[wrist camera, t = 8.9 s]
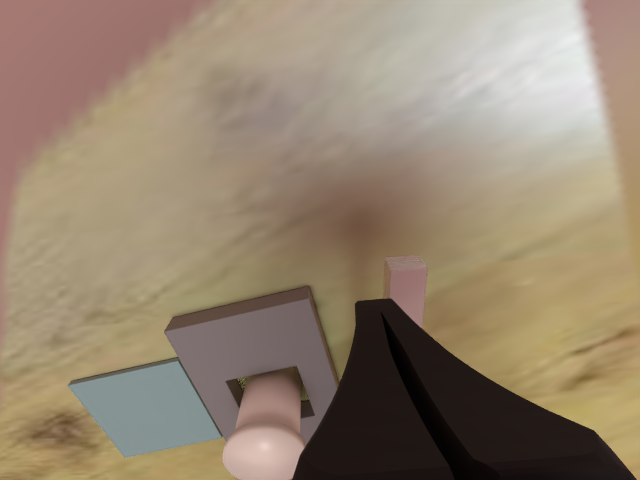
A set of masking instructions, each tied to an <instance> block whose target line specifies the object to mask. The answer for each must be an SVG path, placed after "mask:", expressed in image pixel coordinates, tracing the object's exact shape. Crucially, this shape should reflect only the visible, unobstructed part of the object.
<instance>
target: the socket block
mask: <svg viewBox="0 0 640 480" xmlns="http://www.w3.org/2000/svg"><path fill="white" fill-rule="evenodd" d="M164 333H165V335H166V336H167V338H168V340H169V342H170V343H171V345H172V347H173V349H174V350H175V352H176V354H177V356H178V357H179V359H180V361H181V363H182V365H183V366H184V368H185V370H186V372H187V373H188V375H189V377H190V379H191V380H192V382H193V384H194V386H195V387H196V389H197V391H198V393H199V394H200V396H201V398H202V400H203V401H204V403H205V405H206V407H207V409H208V410H209V412H210V414H211V416H212V417H213V419H214V421H215V423H216V424H217V426H218V428H219V430H220V431H221V433H222V435H223V437H224V438H225V440H227V438H228V436H229V435H230V434H231V433H232V432H233V431H234V430H235V428H236V423H237V419H238V414H239V410H240V405H241V401H242V396H243V391H242V389H241V387H240V385H239V383H238V381H237V378H241V377H246V376H251V375H255V374H260V373H264V372H269V371H274V370H278V369H283V368H288V367H292V366H297V368H298V371H299V374H300V376H301V379H302V382H303V384H304V387H305V390H306V392H307V395H308V398H309V400H308V401H304V402H301V415H300V435H301V436H302V437H303V439H304V441H305V445H307V443H308V442H309V440H310V439H311V437H312V435H313V434H314V432H315V431H316V429H317V427H318V426H319V424H320V422H321V420H322V418H323V417H324V415H325V413H326V411H327V409H328V407H329V405H330V404H331V402H332V399H333V397H334V395H335V393H336V391H337V388H338V386H339V383H338V379H337V376H336V373H335V370H334V367H333V363H332V360H331V357H330V354H329V350H328V347H327V344H326V341H325V338H324V334H323V331H322V328H321V325H320V322H319V318H318V315H317V312H316V309H315V305H314V302H313V299H312V296H311V293H310V289H309V286H307V287H303V288H299V289H294V290H290V291H286V292H281V293H277V294H273V295H269V296H264V297H260V298H256V299H251V300H247V301H243V302H238V303H234V304H230V305H226V306H221V307H217V308H213V309H208V310H204V311H200V312H196V313H191V314H187V315H183V316H178V317H174V318H172V320H171V321H170V323H169V325H168V326H167V328H166V329H165V331H164Z"/></svg>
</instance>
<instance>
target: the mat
mask: <svg viewBox="0 0 640 480" xmlns="http://www.w3.org/2000/svg"><path fill="white" fill-rule="evenodd" d="M68 387H69V388H70V389H71V391H72V392H73V393H74V394H75V396H76V397H77V398H78V399H79V401H80V402H81V403H82V404H83V406H84V407H85V408H86V409H87V411H88V412H89V413H90V414H91V416H92V417H93V418H94V420H95V421H96V422H97V423H98V425H99V426H100V427H101V428H102V430H103V431H104V432H105V433H106V435H107V436H108V437H109V438H110V440H111V441H112V442H113V443H114V445H115V446H116V447H117V449H118V450H119V451H120V452H121V454H122V455H123V456H124V457H125V458H126V457H131V456H136V455H141V454H145V453H150V452H155V451H160V450H165V449H170V448H175V447H180V446H185V445H190V444H195V443H200V442H204V441H209V440H214V439H219V438H222V436H223V435H222V433H221V431H220V430H219V428H218V426H217V424H216V423H215V421H214V419H213V417H212V416H211V414H210V412H209V410H208V409H207V407H206V405H205V403H204V401H203V400H202V398H201V396H200V394H199V393H198V391H197V389H196V387H195V386H194V384H193V382H192V380H191V379H190V377H189V375H188V373H187V372H186V370H185V368H184V366H183V365H182V363H181V361H180V359H179V357H178V358H174V359H169V360H165V361H160V362H156V363H151V364H147V365H142V366H138V367H133V368H129V369H124V370H120V371H116V372H111V373H107V374H102V375H98V376H93V377H89V378H84V379H80V380H75V381H71V382H70V383H69V385H68Z"/></svg>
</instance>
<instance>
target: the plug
mask: <svg viewBox="0 0 640 480" xmlns="http://www.w3.org/2000/svg"><path fill="white" fill-rule="evenodd" d="M300 415H301V377H300V375H299V373H298V372H297V371H296V370H295V369H294V368H293V367H288V368H283V369H278V370H274V371H269V372H264V373H260V374H255V375H251V376H247V378H246V383H245V387H244V392H243V396H242V401H241V405H240V410H239V414H238V419H237V423H236V428H235V430H234V431H233V432H232V433H231V434H230V435H229V436H228V438H227V440H226V443H225V447H224V452H223V464H224V466H225V468H226V469H227V471H228V472H229V473H230V474H232V475H233V476H234V477H236V478H238V479H240V480H289V479H291V478H293V475H294V472H295V469H296V466H297V463H298V460H299V457H300V454H301V452H302V451H303V449H304V448H305V446H306V445H305V441H304V439H303V437H302V436H301V435H300Z"/></svg>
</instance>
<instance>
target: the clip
mask: <svg viewBox="0 0 640 480" xmlns="http://www.w3.org/2000/svg"><path fill="white" fill-rule="evenodd" d="M427 270H428V268H427V267H426V265H425V264H424V262H423V261H422V260H421V258H420V257H419V255H414V256H398V257H385V260H384V292H383V299H388V298H391V299H393V300H394V301H395V302H396V303H397V304H398V306H399V307H400V308H401V309H402V310H403V311H404V312H405V313H406V314H407V315H408V316H409V317H410V318H411V319H412V320H413V321H414V322H415V323H416V324H417V325H419V326H420V327H421V328H422V323H423V313H424V302H425V292H426V281H427Z"/></svg>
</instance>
